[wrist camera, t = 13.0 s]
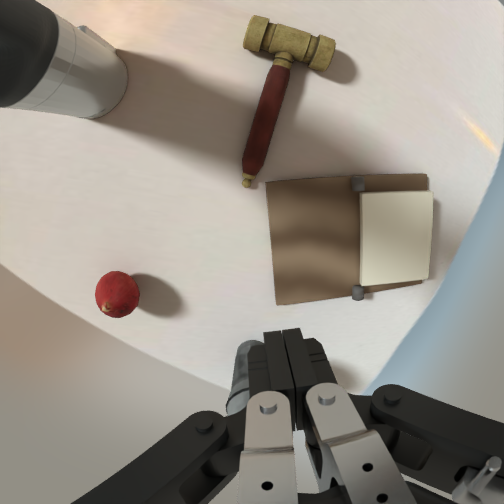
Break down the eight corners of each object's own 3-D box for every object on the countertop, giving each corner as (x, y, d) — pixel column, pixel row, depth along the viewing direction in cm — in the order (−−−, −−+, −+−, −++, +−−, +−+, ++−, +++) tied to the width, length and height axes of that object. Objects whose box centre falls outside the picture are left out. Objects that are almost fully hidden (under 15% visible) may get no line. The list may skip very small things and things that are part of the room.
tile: (433, 191, 34) (428, 190, 36) (362, 194, 35) (359, 192, 36) (427, 278, 38) (424, 275, 39) (361, 286, 39) (359, 281, 40)
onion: (153, 282, 40) (137, 310, 33) (131, 309, 41) (113, 340, 34) (120, 254, 39) (97, 277, 31) (100, 283, 40) (76, 310, 32)
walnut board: (265, 182, 37) (267, 184, 34) (423, 173, 37) (434, 175, 35) (275, 302, 42) (278, 312, 39) (418, 280, 42) (427, 288, 40)
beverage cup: (219, 361, 45) (213, 472, 26) (240, 324, 43) (243, 438, 24) (262, 376, 46) (275, 484, 27) (285, 342, 44) (312, 452, 25)
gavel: (288, 203, 35) (201, 179, 34) (283, 195, 39) (206, 174, 38) (339, 35, 28) (253, 9, 26) (329, 45, 32) (252, 22, 31)
